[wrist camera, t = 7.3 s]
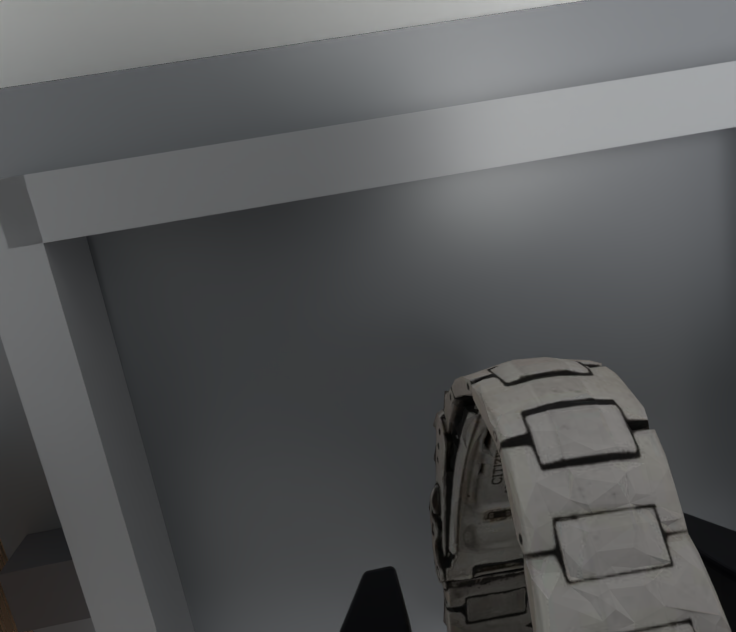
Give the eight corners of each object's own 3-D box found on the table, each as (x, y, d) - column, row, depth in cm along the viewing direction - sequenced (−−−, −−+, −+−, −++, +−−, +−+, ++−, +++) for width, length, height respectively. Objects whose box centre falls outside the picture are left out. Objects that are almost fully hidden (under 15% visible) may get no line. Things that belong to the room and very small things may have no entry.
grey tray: (794, 693, 13) (1044, 960, 9) (-187, 925, 12) (-473, 1379, 7) (809, -27, 10) (1237, -182, 5) (-587, 184, 8) (-1586, 210, 4)
